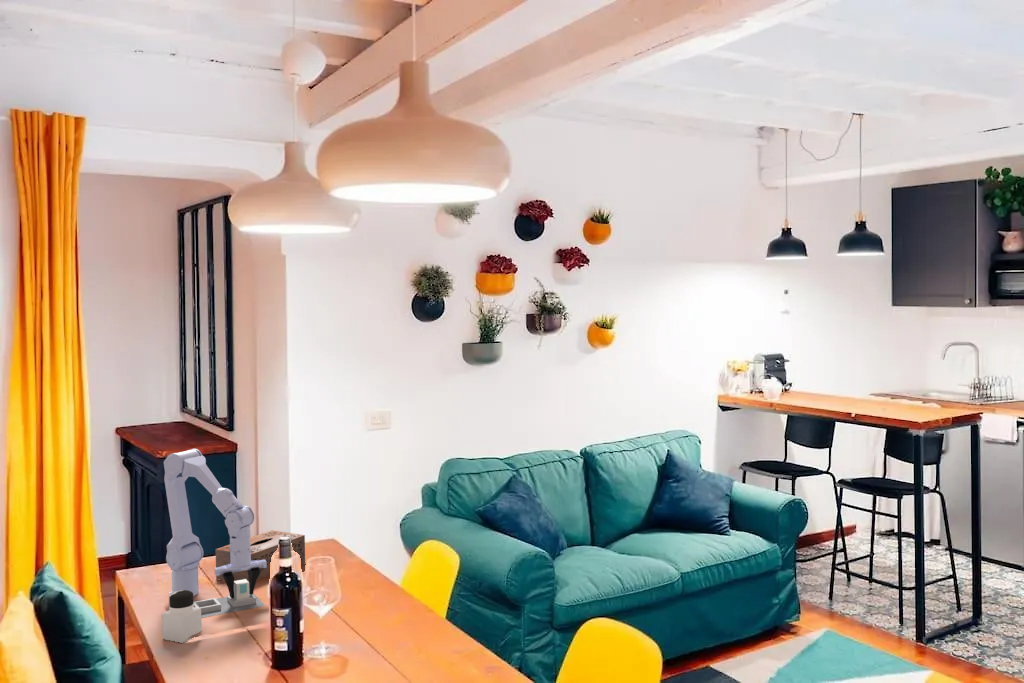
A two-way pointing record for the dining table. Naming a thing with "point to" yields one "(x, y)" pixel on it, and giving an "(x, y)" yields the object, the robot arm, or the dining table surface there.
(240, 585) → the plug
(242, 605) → the grey flat plate
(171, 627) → the medicine bottle
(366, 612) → the dining table surface
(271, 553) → the tissue box cover
